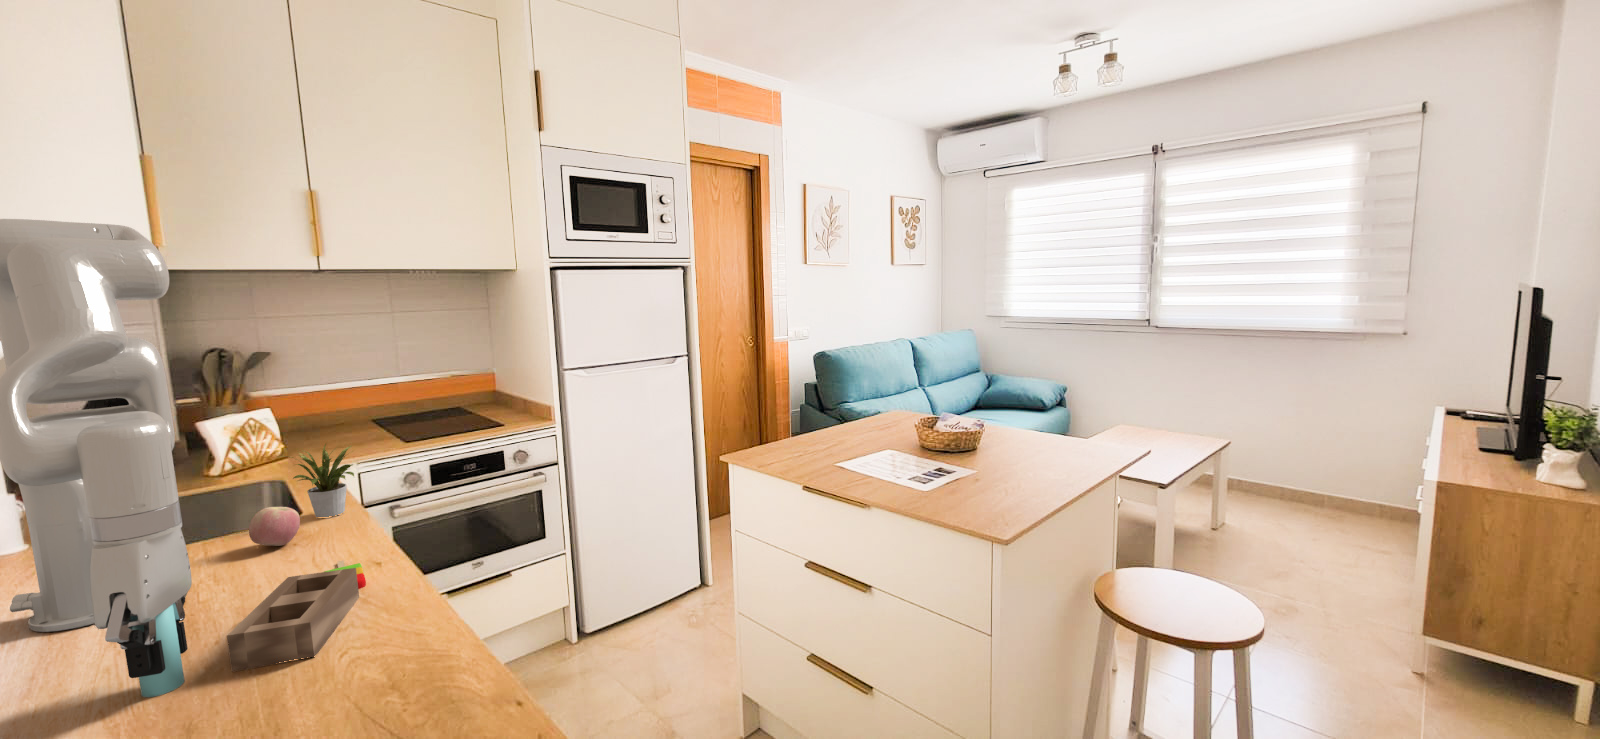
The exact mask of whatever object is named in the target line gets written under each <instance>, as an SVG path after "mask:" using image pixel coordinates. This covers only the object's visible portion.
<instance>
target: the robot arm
mask: <svg viewBox="0 0 1600 739" xmlns="http://www.w3.org/2000/svg"><path fill="white" fill-rule="evenodd" d="M169 287H170V272H169V269H168V266H167V263H166V261H165V259H164V256H163V255H162V253H161V252H160V250H159V249H158V248H157V247H156V245H155V244H153V243H152V241H151V240H149V239H148V238H147V237H145V236H144V235H143V234H141V233H140V232H139V231H137V230H136V229H135V228H133V227H129V226H125V225H121V224H109V223H92V222H91V223H90V222H74V221H59V220H58V221H57V220H47V219H46V220H45V219H41V220H40V219H23V218H0V342H1V347H2V354H3V359H4V363H5V364H4V365H5V368H6V370H5V371H4V372H3V374H1V375H0V465H1V466H2V469H3V472H4V473H5V474H6V476H7V477H8V478H9V479H10V480H12V481H13V482H14V483H16V484H17V485H18V487H19V490H20V494H21V497H22V498H21V499H22V501H23V502H22V503H23V507H24V512H25V516H26V524H27V525H28V526H27V527H28V531H29V536H30V542H31V549H32V555H33V560H34V565H35V572H36V578H37V583H38V587H39V592H28V593H21V594H16V595H14V596H13V598H12V599H11V604H10V605H9V611H10V612H11V613H16V612H24V611H26V610H30V611H32V613H33V615H32V616H31V617H30V618H29V619H28V622H27V623H28V628H29V629H30V630H31V631H34V632H41V633H45V632H46V633H50V632H59V631H60V632H61V631H65V630H72V629H77V628H81V627H85V626H89V625H95V628H96V629H98V630H104V629H106V633H105V636H104V639H105V642H109V643H117V644H118V645H120V649H121V650H124V653H125V654H124V655H125V659H126V667H127V671H128V677H129V678H131V679H136V678H139V677H143V676H149V675H155V674H160V673H162V672H163V671H164V670H165V662H164V655H163V649H162V642H161V640H158V641H156V616H157V615H158V614H160V613H161V612H163V611H164V610H165V609H167V608H168V607H169V606H171V605H172V604H173V608H174V614H175V621H176V628H177V634H178V641H179V647H180V654H184V653H186V652H187V651H188V648H189V647H188V642H187V636H186V629H185V617H186V613H185V609H184V605H185V602H186V596H187V594H188V592H189V591H190V590H191V588H192V585H193V584H192V583H193V582H192V572H191V571H192V570H191V563H190V559H189V553H188V549H187V546H186V545H187V544H186V541H185V538H184V535H183V534H184V533H183V531H182V527H183V520H182V513H181V507H180V506H181V505H180V499H179V493H178V491H179V490H178V485H177V479H176V471H175V466H174V458H173V450H174V447H175V441H176V436H175V434H176V433H175V428H174V427H175V426H174V425H175V424H174V421H173V420H174V418H173V414H172V408H171V402H170V395H169V394H170V393H169V389H168V382H167V381H168V380H167V377H166V376H167V375H166V370H165V366H164V362H163V358H162V356H161V354H160V352H159V350H158V349H157V347H156V346H155V344H153V343H152V342H151V341H149V340H147V339H145V338H141V337H135V336H134V337H133V336H128V334H127V330H126V329H125V325H124V322H123V319H122V316H121V313H120V310H119V307H118V304H117V301H153V300H158V299H161V298H163V297H164V296H165V295H166V294H167V292H168V291H169ZM116 398H117V399H124V400H126V401H127V402H128V404H127V405H118V406H111V407H110V406H109V407H100V408H99V407H98V408H89V409H88V408H86V409H77V410H70V411H63V412H61V411H60V412H52V413H47V414H40V415H36V416H31V417H28V413H27V412H28V411H27V404H31V405H55V404H66V403H78V402H86V401H87V402H88V401H89V402H90V401H98V400H108V399H116ZM136 615H137V616H138V619H133V620H130V616H136ZM140 625H144V632H142V631H140V630H132V627H133V626H140Z"/></svg>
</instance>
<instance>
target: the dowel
mask: <svg viewBox="0 0 1600 739" xmlns="http://www.w3.org/2000/svg"><path fill="white" fill-rule="evenodd" d="M133 619H138V616H137V615H136V616H130V620H133ZM132 630H140V631H142V632H144V625H140V626H133V627H132ZM158 640H161V642H162V649H163V655H164V662H165V670H164V671H163V672H162V673H160V674H155V675H149V676H143V677H138V681H139V682H138V684H139V687H140V695H141V697H143V698H153V697H154V698H155V697H160V696H162V695H165V694H167V693H170V692H173V691H174V690H176V689H178V688H179V687H181V686H182V685H183V684H184V683H185V673H184V669H183V662H182V656H181V654H180V647H179V641H178V634H177V628H176V621H175V614H174V608H173V604H172V605H171V606H169V607H168V608H167V609H165V610H164V611H163V612H161V613H160V614H158V615H157V616H156V641H158Z"/></svg>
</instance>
